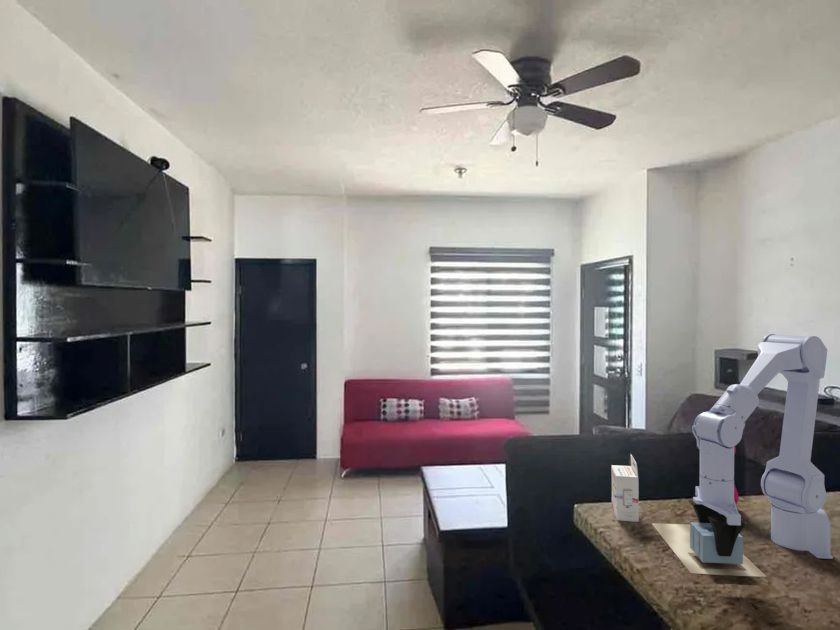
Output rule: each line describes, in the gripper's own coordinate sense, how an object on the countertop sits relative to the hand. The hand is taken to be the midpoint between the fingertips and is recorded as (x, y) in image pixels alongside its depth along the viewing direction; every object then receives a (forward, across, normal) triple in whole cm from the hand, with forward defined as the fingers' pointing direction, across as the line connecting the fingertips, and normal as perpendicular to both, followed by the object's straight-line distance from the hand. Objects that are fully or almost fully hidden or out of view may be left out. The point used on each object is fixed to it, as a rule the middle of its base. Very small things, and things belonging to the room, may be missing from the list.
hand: (716, 547), depth 100 cm
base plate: (+4, -6, 0) cm, 7 cm away
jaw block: (+2, 0, 0) cm, 2 cm away
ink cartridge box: (+4, -22, -11) cm, 25 cm away
